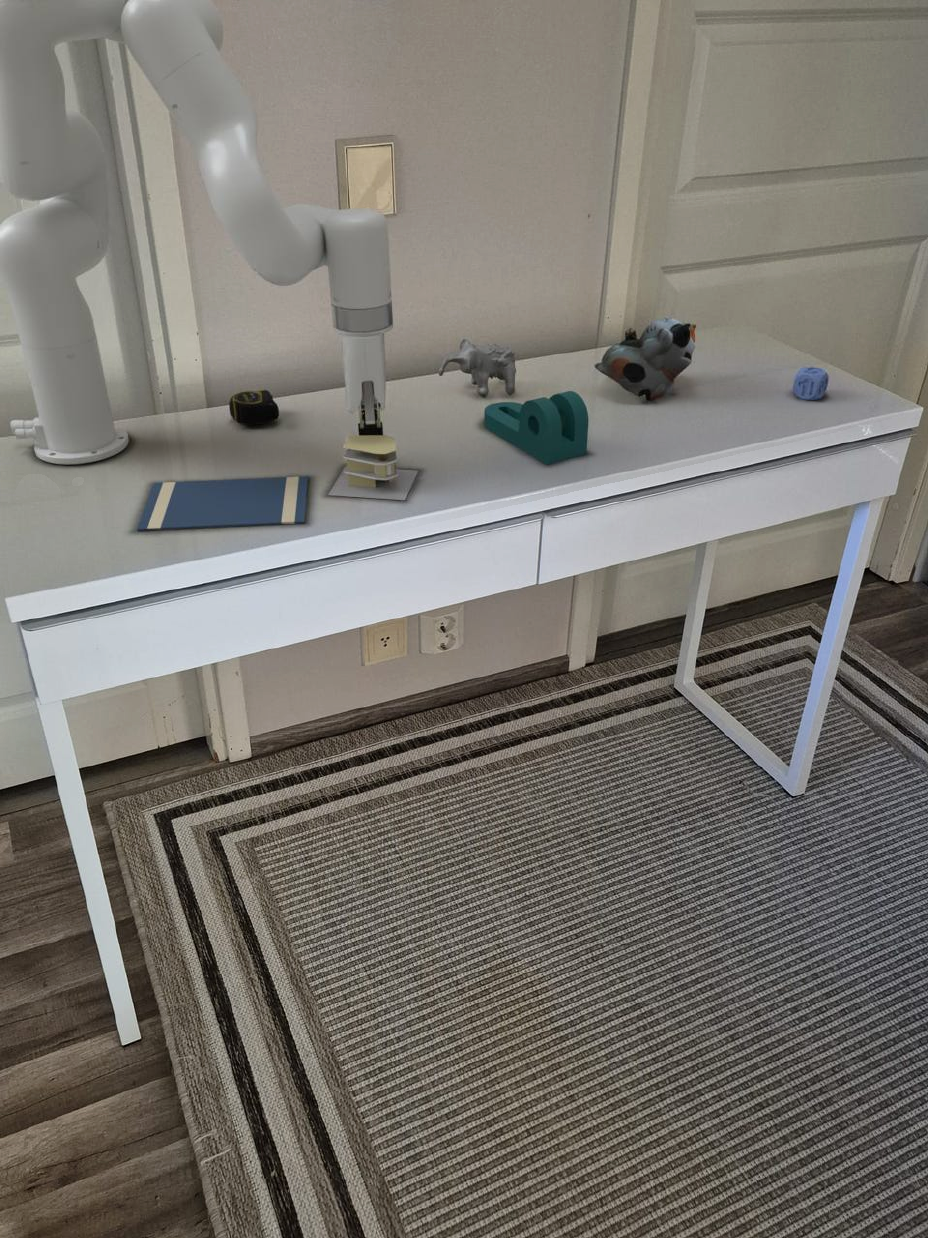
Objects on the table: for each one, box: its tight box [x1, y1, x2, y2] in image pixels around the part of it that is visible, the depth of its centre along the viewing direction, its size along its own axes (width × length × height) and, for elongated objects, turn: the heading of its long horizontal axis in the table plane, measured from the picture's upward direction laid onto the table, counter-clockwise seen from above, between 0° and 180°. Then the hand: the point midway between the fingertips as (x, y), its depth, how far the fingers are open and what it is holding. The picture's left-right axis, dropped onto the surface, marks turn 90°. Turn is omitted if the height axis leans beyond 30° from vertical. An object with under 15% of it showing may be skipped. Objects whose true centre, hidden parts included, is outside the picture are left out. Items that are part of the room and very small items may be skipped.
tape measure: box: [228, 389, 280, 426], centre depth 152 cm, size 7×7×4 cm
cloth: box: [136, 475, 309, 532], centre depth 130 cm, size 20×13×1 cm, turn 95°
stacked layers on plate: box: [328, 434, 419, 501], centre depth 133 cm, size 10×9×6 cm
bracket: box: [483, 390, 590, 466], centre depth 145 cm, size 18×7×8 cm, turn 32°
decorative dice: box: [792, 366, 830, 401], centre depth 160 cm, size 4×4×4 cm
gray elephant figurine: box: [438, 338, 517, 398], centre depth 161 cm, size 9×12×8 cm
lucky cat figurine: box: [594, 317, 697, 402], centre depth 160 cm, size 15×12×14 cm
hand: (372, 452), depth 138 cm, fingers closed
